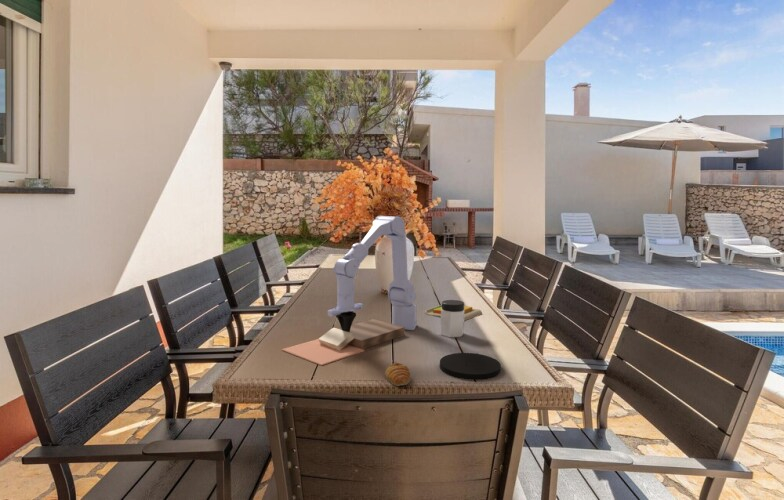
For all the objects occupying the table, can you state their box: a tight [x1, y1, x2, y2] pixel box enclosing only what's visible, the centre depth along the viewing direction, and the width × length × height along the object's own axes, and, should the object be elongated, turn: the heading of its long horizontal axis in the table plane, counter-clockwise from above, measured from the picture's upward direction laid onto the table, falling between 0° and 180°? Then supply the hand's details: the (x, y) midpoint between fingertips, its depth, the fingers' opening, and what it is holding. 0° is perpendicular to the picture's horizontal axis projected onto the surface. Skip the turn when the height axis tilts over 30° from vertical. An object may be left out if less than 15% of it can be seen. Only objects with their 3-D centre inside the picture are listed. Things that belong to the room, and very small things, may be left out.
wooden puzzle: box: [424, 304, 483, 322], centre depth 204 cm, size 18×19×4 cm
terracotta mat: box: [281, 338, 365, 366], centre depth 154 cm, size 18×20×1 cm
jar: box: [440, 299, 465, 338], centre depth 174 cm, size 9×8×12 cm
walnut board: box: [337, 318, 406, 350], centre depth 169 cm, size 22×16×3 cm
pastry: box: [384, 362, 412, 387], centre depth 131 cm, size 9×7×4 cm
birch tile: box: [318, 327, 354, 350], centre depth 159 cm, size 7×10×2 cm
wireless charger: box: [439, 352, 502, 381], centre depth 141 cm, size 18×18×2 cm
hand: (345, 333), depth 161 cm, fingers closed
